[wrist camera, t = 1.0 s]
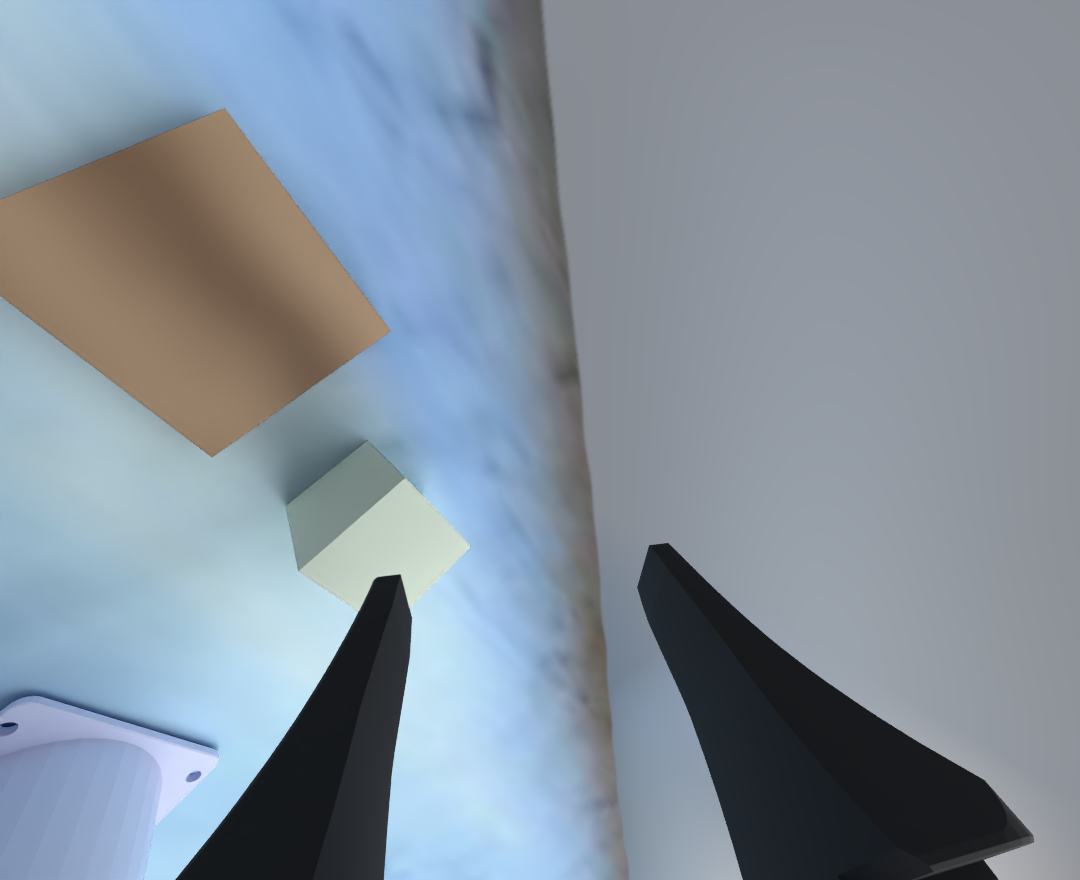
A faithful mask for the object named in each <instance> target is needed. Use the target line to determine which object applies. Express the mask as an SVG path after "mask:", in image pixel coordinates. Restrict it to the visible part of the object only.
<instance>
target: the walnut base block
mask: <svg viewBox="0 0 1080 880" xmlns="http://www.w3.org/2000/svg"><path fill="white" fill-rule="evenodd" d="M0 296H1V297H3V298H4V299H5V300H6V301H8V302H9V303H10V304H12V305H13V306H14V307H16V308H17V309H18V310H20V311H21V312H22V313H23V314H25V315H26V316H27V317H29V318H30V319H31V320H33V321H34V322H35V323H37V324H38V325H39V326H41V327H42V328H43V329H44V330H46V331H47V332H48V333H50V334H51V335H52V336H54V337H55V338H56V339H58V340H59V341H60V342H61V343H63V344H64V345H65V346H67V347H68V348H69V349H71V350H72V351H73V352H75V353H76V354H77V355H79V356H80V357H81V358H82V359H84V360H85V361H86V362H88V363H89V364H90V365H92V366H93V367H94V368H96V369H97V370H98V371H99V372H101V373H102V374H103V375H105V376H106V377H107V378H109V379H110V380H111V381H113V382H114V383H115V384H117V385H118V386H119V387H120V388H122V389H123V390H124V391H126V392H127V393H128V394H130V395H131V396H132V397H134V398H135V399H136V400H137V401H139V402H140V403H141V404H143V405H144V406H145V407H147V408H148V409H149V410H151V411H152V412H153V413H155V414H156V415H157V416H158V417H160V418H161V419H162V420H164V421H165V422H166V423H168V424H169V425H170V426H172V427H173V428H174V429H175V430H177V431H178V432H179V433H181V434H182V435H183V436H185V437H186V438H187V439H189V440H190V441H191V442H193V443H194V444H195V445H196V446H198V447H199V448H200V449H202V450H203V451H204V452H206V453H207V454H208V455H210V456H211V457H213V456H215V455H216V454H217V453H219V452H220V451H222V450H223V449H225V448H226V447H227V446H229V445H230V444H232V443H233V442H234V441H236V440H237V439H239V438H240V437H242V436H243V435H244V434H246V433H247V432H249V431H250V430H251V429H253V428H254V427H256V426H257V425H259V424H260V423H261V422H263V421H264V420H266V419H267V418H268V417H270V416H271V415H273V414H274V413H276V412H277V411H278V410H280V409H281V408H283V407H284V406H285V405H287V404H288V403H290V402H291V401H293V400H294V399H295V398H297V397H298V396H300V395H301V394H302V393H304V392H305V391H307V390H308V389H310V388H311V387H312V386H314V385H315V384H317V383H318V382H319V381H321V380H322V379H324V378H325V377H327V376H328V375H329V374H331V373H332V372H334V371H335V370H337V369H338V368H339V367H341V366H342V365H344V364H345V363H346V362H348V361H349V360H351V359H352V358H354V357H355V356H356V355H358V354H359V353H361V352H362V351H363V350H365V349H366V348H368V347H369V346H371V345H372V344H373V343H375V342H376V341H378V340H379V339H380V338H382V337H383V336H385V335H386V334H388V333H389V332H390V329H389V328H388V327H387V325H386V324H385V323H384V321H383V320H382V319H381V317H380V316H379V315H378V313H377V312H376V310H375V309H374V308H373V306H372V305H371V304H370V302H369V301H368V300H367V298H366V297H365V296H364V294H363V293H362V292H361V290H360V289H359V288H358V286H357V285H356V284H355V282H354V281H353V280H352V278H351V277H350V276H349V274H348V273H347V272H346V270H345V269H344V268H343V266H342V265H341V264H340V262H339V261H338V260H337V258H336V257H335V256H334V254H333V253H332V252H331V250H330V249H329V248H328V246H327V245H326V244H325V242H324V241H323V239H322V238H321V237H320V235H319V234H318V233H317V231H316V230H315V229H314V227H313V226H312V225H311V223H310V222H309V221H308V219H307V218H306V217H305V215H304V214H303V213H302V211H301V210H300V209H299V207H298V206H297V205H296V203H295V202H294V201H293V199H292V198H291V197H290V195H289V194H288V193H287V191H286V190H285V189H284V187H283V186H282V185H281V183H280V182H279V181H278V179H277V178H276V177H275V175H274V174H273V173H272V171H271V170H270V169H269V167H268V166H267V164H266V163H265V162H264V160H263V159H262V158H261V156H260V155H259V154H258V152H257V151H256V150H255V148H254V147H253V146H252V144H251V143H250V142H249V140H248V139H247V138H246V136H245V135H244V134H243V132H242V131H241V130H240V128H239V127H238V126H237V124H236V123H235V122H234V120H233V119H232V118H231V116H230V115H229V114H228V112H227V111H226V110H225V108H224V109H222V110H219V111H217V112H214V113H212V114H210V115H207V116H205V117H202V118H200V119H197V120H195V121H192V122H190V123H187V124H185V125H183V126H180V127H178V128H175V129H173V130H170V131H168V132H165V133H163V134H160V135H158V136H156V137H153V138H151V139H148V140H146V141H143V142H141V143H138V144H136V145H133V146H131V147H128V148H126V149H124V150H121V151H119V152H116V153H114V154H111V155H109V156H106V157H104V158H101V159H99V160H97V161H94V162H92V163H89V164H87V165H84V166H82V167H79V168H77V169H74V170H72V171H70V172H67V173H65V174H62V175H60V176H57V177H55V178H52V179H50V180H47V181H45V182H43V183H40V184H38V185H35V186H33V187H30V188H28V189H25V190H23V191H20V192H18V193H16V194H13V195H11V196H8V197H6V198H3V199H1V200H0Z"/></svg>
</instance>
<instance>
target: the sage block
mask: <svg viewBox="0 0 1080 880" xmlns="http://www.w3.org/2000/svg"><path fill="white" fill-rule="evenodd" d="M286 510H287V515H288V521H289V526H290V531H291V536H292V541H293V546H294V552H295V557H296V562H297V567H298V572H300V573H301V574H303V575H304V576H306V577H307V578H309V579H310V580H312V581H313V582H315V583H316V584H318V585H319V586H321V587H322V588H324V589H325V590H327V591H328V592H330V593H331V594H333V595H334V596H336V597H337V598H339V599H340V600H341V601H343V602H344V603H346V604H347V605H349V606H350V607H352V608H353V609H355V610H356V611H358V612H359V610H360V608H361V606H362V604H363V602H364V600H365V598H366V596H367V594H368V592H369V589H370V587H371V585H372V583H373V580H374V579H375V578H377V577H381V576H389V575H398V574H401V577H402V581H403V585H404V589H405V593H406V597H407V601H408V605H409V609H410V608H411V607H412V606H413V605H414V604H415V603H416V602H417V601H418V600H419V599H420V598H421V597H422V596H423V595H424V594H425V592H426V591H427V590H428V589H429V588H430V587H431V586H432V585H433V584H434V583H435V582H436V581H437V580H438V579H439V578H440V577H441V576H442V575H443V574H444V573H445V572H446V571H447V570H448V569H449V568H450V567H451V566H452V565H453V564H454V563H455V562H456V561H457V560H458V559H459V558H460V557H461V556H462V555H463V554H464V553H465V552H466V551H467V550H468V549H469V548H470V547H471V546H470V545H469V544H468V543H467V542H466V541H465V539H464V538H463V537H462V536H461V535H460V534H459V533H458V532H457V531H456V530H455V529H454V528H453V527H452V526H451V525H450V524H449V523H448V522H447V521H446V520H445V519H444V518H443V516H442V515H441V514H440V513H439V512H438V511H437V510H436V509H435V508H434V507H433V506H432V505H431V504H430V503H429V502H428V501H427V500H426V499H425V498H424V497H423V496H422V494H421V493H420V492H419V491H418V490H417V489H416V488H415V487H414V486H413V485H412V484H411V483H410V482H409V481H408V480H407V479H406V478H405V477H404V476H403V475H402V474H401V473H400V472H399V471H398V470H397V469H396V468H395V467H394V466H393V465H392V464H391V463H390V462H389V461H388V460H387V459H386V458H385V457H384V456H383V455H382V454H381V453H380V452H379V451H378V450H377V449H376V448H375V447H374V446H373V445H372V444H371V443H370V442H369V441H368V440H367V441H366V442H365V443H363V444H362V445H361V446H360V447H358V448H357V449H356V450H355V451H353V452H352V453H351V454H350V455H348V456H347V457H346V458H345V459H343V460H342V461H341V462H340V463H339V464H337V465H336V466H335V467H334V468H332V469H331V470H330V471H329V472H327V473H326V474H325V475H324V476H322V477H321V478H320V479H319V480H317V481H316V482H315V483H314V484H312V485H311V486H310V487H309V488H307V489H306V490H305V491H304V492H302V493H301V494H300V495H299V496H297V497H296V498H295V499H294V500H292V501H291V502H290V503H289V504H287V505H286Z"/></svg>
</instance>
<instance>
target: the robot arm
mask: <svg viewBox="0 0 1080 880" xmlns="http://www.w3.org/2000/svg"><path fill="white" fill-rule="evenodd" d="M637 588H638V592H639V595H640V598H641V601H642V605H643V607H644V611H645V613H646V617H647V620H648V622H649V624H650V627H651V629H652V631H653V634H654V636H655V638H656V640H657V642H658V645H659V647H660V649H661V651H662V654H663V656H664V658H665V660H666V662H667V665H668V667H669V669H670V671H671V673H672V675H673V678H674V680H675V682H676V684H677V687H678V689H679V691H680V693H681V695H682V698H683V700H684V702H685V705H686V707H687V710H688V712H689V714H690V717H691V720H692V722H693V725H694V728H695V731H696V734H697V736H698V739H699V742H700V745H701V748H702V751H703V753H704V756H705V759H706V762H707V765H708V768H709V771H710V774H711V777H712V780H713V783H714V786H715V789H716V792H717V795H718V798H719V801H720V805H721V808H722V811H723V814H724V818H725V821H726V824H727V827H728V831H729V834H730V837H731V840H732V843H733V847H734V850H735V853H736V857H737V861H738V864H739V868H740V871H741V875H742V878H743V880H998V878H997V877H996V876H995V874H994V873H993V872H992V870H991V869H990V868H989V867H988V865H987V864H986V863H985V861H984V859H987V858H990V857H993V856H996V855H998V854H1002V853H1005V852H1008V851H1010V850H1014V849H1017V848H1019V847H1022V846H1025V845H1028V844H1031V843H1033V842H1034V838H1033V835H1032V834H1031V833H1030V831H1029V830H1028V829H1027V828H1026V827H1025V826H1024V824H1022V822H1021V821H1020V820H1019V819H1018V818H1017V817H1016V815H1015V814H1014V813H1013V812H1012V811H1011V810H1010V809H1009V807H1008V806H1007V805H1006V804H1005V803H1004V802H1003V801H1002V799H1001V798H999V796H998V795H997V794H996V793H995V791H994V790H993V789H992V788H991V787H990V786H989V785H988V784H987V783H986V782H985V781H984V780H983V779H981V778H980V777H978V776H976V775H974V774H973V773H971V772H969V771H967V770H966V769H964V768H962V767H961V766H959V765H957V764H955V763H953V762H952V761H950V760H948V759H947V758H945V757H943V756H941V755H940V754H938V753H936V752H934V751H933V750H931V749H929V748H927V747H926V746H924V745H922V744H921V743H919V742H917V741H916V740H914V739H912V738H911V737H909V736H908V735H906V734H904V733H903V732H901V731H900V730H898V729H896V728H895V727H893V726H892V725H890V724H888V723H887V722H885V721H883V720H882V719H880V718H879V717H877V716H876V715H874V714H873V713H871V712H870V711H868V710H867V709H865V708H864V707H862V706H861V705H859V704H858V703H856V702H855V701H853V700H852V699H850V698H849V697H848V696H846V695H845V694H843V693H842V692H840V691H839V690H837V689H836V688H835V687H833V686H832V685H830V684H829V683H827V682H826V681H824V680H823V679H822V678H820V677H819V676H818V675H816V674H815V673H813V672H812V671H811V670H809V669H808V668H807V667H805V666H804V665H803V664H802V663H800V662H799V661H798V660H796V659H795V658H794V657H792V656H791V655H790V654H789V653H787V652H786V651H785V650H783V649H782V648H781V647H780V646H778V645H777V644H776V643H775V642H773V641H772V640H771V639H770V638H768V637H767V636H766V635H765V634H764V633H763V632H762V631H760V630H759V629H758V628H757V627H756V626H755V625H754V624H752V623H751V622H750V621H749V620H748V619H747V618H745V617H744V616H743V615H742V614H741V613H740V612H739V611H738V610H737V609H736V608H735V607H733V606H732V605H731V604H730V603H729V602H728V601H727V600H726V599H725V598H724V597H723V596H722V595H721V594H720V593H718V592H717V591H716V590H715V589H714V588H713V587H712V586H711V585H710V584H709V583H708V582H707V581H706V580H705V579H704V578H703V577H702V576H701V575H700V574H699V573H698V572H697V571H696V570H695V569H694V568H693V567H692V566H691V565H690V564H689V563H688V562H687V561H686V560H685V559H684V558H683V557H682V556H681V555H680V554H678V552H677V551H676V550H675V549H674V548H673V547H672V546H671V545H669V543H665V544H656V545H649V548H648V552H647V556H646V559H645V562H644V566H643V569H642V573H641V576H640V580H639V583H638V587H637ZM411 625H412V616H411V613H410V609H409V605H408V601H407V597H406V593H405V589H404V585H403V581H402V577H401V574H398V575H389V576H381V577H377V578H375V579H374V580H373V583H372V585H371V587H370V589H369V592H368V594H367V596H366V598H365V600H364V602H363V604H362V606H361V608H360V610H359V612H358V614H357V616H356V618H355V620H354V622H353V624H352V626H351V628H350V629H349V631H348V633H347V635H346V637H345V639H344V640H343V642H342V644H341V646H340V648H339V649H338V651H337V653H336V655H335V656H334V658H333V660H332V662H331V664H330V665H329V667H328V669H327V670H326V672H325V674H324V675H323V677H322V678H321V680H320V682H319V683H318V685H317V687H316V688H315V690H314V691H313V693H312V695H311V696H310V698H309V700H308V701H307V703H306V704H305V706H304V708H303V709H302V711H301V712H300V714H299V715H298V717H297V718H296V720H295V721H294V723H293V724H292V726H291V727H290V729H289V730H288V732H287V733H286V735H285V736H284V738H283V739H282V741H281V742H280V743H279V745H278V746H277V748H276V749H275V751H274V752H273V753H272V755H271V756H270V758H269V759H268V761H267V762H266V763H265V765H264V766H263V768H262V769H261V770H260V772H259V773H258V774H257V776H256V777H255V778H254V780H253V781H252V782H251V784H250V785H249V787H248V788H247V789H246V791H245V792H244V793H243V795H242V796H241V797H240V799H239V800H238V801H237V803H236V804H235V805H234V807H233V808H232V809H231V811H230V812H229V813H228V815H227V816H226V817H225V819H224V820H223V821H222V822H221V824H220V825H219V826H218V828H217V829H216V830H215V831H214V833H213V834H212V835H211V836H210V838H209V839H208V840H207V841H206V843H205V844H204V845H203V846H202V847H201V849H200V850H199V851H198V852H197V854H196V855H195V856H194V857H193V859H192V860H191V861H190V862H189V864H188V865H187V866H186V867H185V868H184V870H183V871H182V872H181V873H180V875H179V876H178V877H177V878H176V880H384V867H385V853H386V839H387V825H388V812H389V800H390V787H391V775H392V767H393V759H394V752H395V746H396V739H397V733H398V727H399V721H400V715H401V709H402V702H403V696H404V690H405V684H406V677H407V671H408V665H409V658H410V643H411ZM7 722H15V723H16V724H17V725H15V726H11V727H2V726H0V880H144V878H145V872H146V867H147V862H148V857H149V852H150V847H151V841H152V836H153V831H154V827H155V826H156V825H157V824H158V823H159V822H160V821H161V820H162V819H163V818H164V817H165V816H166V815H167V814H168V813H169V812H170V811H171V810H172V809H173V808H174V807H175V806H176V805H177V804H178V803H179V802H180V801H181V800H182V799H183V798H184V797H185V796H186V795H187V794H188V793H189V792H190V791H191V790H193V789H194V788H195V787H196V786H197V785H198V784H199V783H200V782H201V781H202V780H203V779H204V778H205V777H206V776H207V775H208V774H209V773H210V772H211V771H212V770H213V769H214V768H215V767H216V765H217V764H218V761H219V752H218V751H217V750H215V749H212V748H209V747H206V746H202V745H199V744H196V743H192V742H189V741H186V740H183V739H179V738H176V737H173V736H169V735H166V734H163V733H159V732H156V731H153V730H150V729H146V728H143V727H140V726H136V725H133V724H130V723H127V722H123V721H120V720H117V719H113V718H110V717H107V716H103V715H100V714H97V713H94V712H90V711H87V710H84V709H80V708H77V707H74V706H71V705H67V704H64V703H61V702H57V701H54V700H51V699H48V698H44V697H40V696H28V697H24V698H21V699H18V700H16V701H14V702H12V703H11V704H9V705H8V706H7V707H5V708H4V709H3V710H2V711H0V725H1V724H3V723H7ZM195 771H198V772H197V773H194V774H190V773H192V772H195Z"/></svg>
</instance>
